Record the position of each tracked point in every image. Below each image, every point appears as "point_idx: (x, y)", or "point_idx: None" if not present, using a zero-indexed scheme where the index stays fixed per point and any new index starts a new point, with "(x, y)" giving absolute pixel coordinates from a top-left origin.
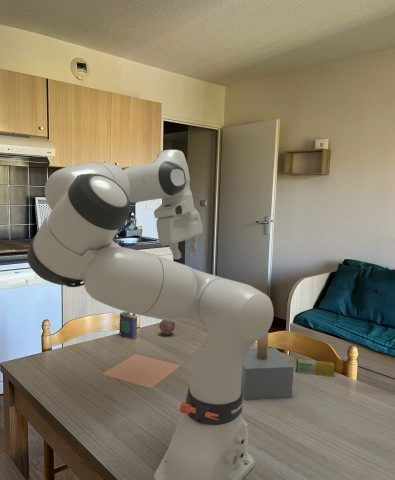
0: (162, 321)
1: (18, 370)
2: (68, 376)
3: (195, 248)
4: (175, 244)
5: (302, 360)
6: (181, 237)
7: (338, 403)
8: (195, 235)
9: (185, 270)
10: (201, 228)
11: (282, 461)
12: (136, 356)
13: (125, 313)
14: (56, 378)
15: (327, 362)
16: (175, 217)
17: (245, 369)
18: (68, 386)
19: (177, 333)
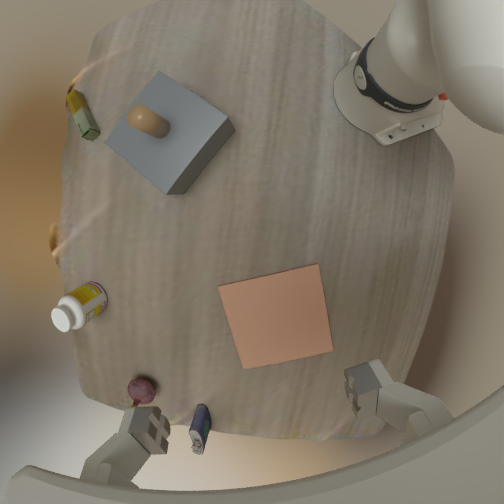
0: (146, 401)
1: None
2: None
3: (135, 420)
4: (450, 415)
5: (82, 127)
6: (406, 474)
7: (151, 46)
8: (109, 489)
9: None
10: (18, 493)
11: (322, 35)
12: (249, 362)
13: (200, 447)
14: None
15: (69, 101)
16: None
17: (226, 119)
18: (382, 350)
19: (129, 373)
